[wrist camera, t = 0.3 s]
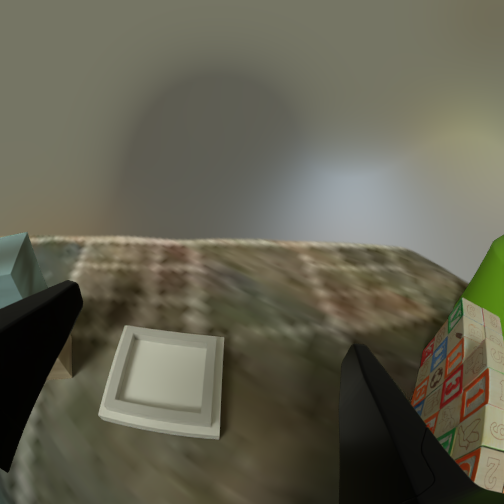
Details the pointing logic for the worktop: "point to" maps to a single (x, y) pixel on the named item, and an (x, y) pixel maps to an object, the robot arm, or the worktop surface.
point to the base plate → (166, 383)
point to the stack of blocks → (466, 392)
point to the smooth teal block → (27, 288)
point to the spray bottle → (489, 282)
